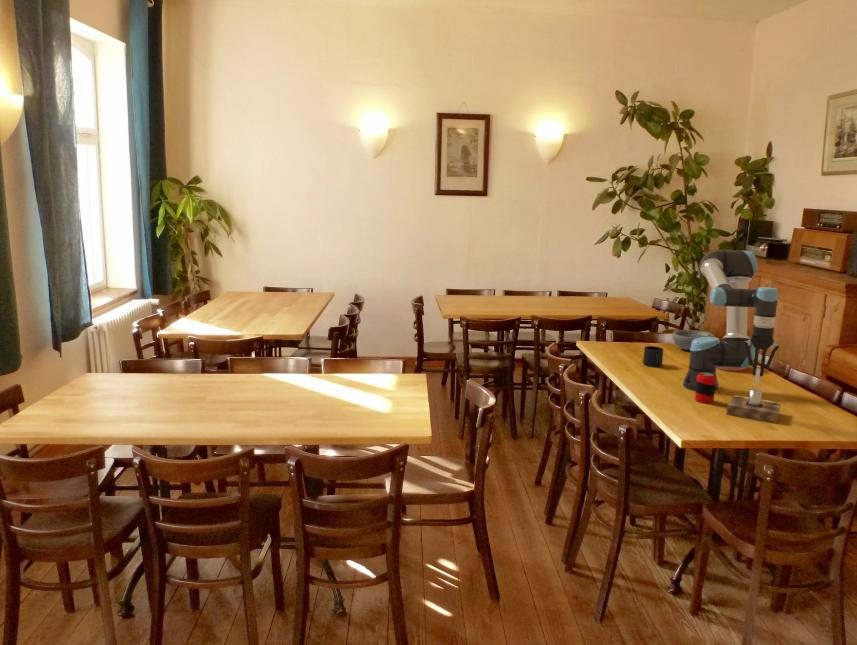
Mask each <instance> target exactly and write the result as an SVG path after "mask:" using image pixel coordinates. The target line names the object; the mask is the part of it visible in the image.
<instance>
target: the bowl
mask: <svg viewBox="0 0 857 645" xmlns="http://www.w3.org/2000/svg"><path fill="white" fill-rule="evenodd" d="M700 337H715V338H716V336H715V335H714V334H713V333H712V332H709V331H706V330H705V331H704V330H693V329H680V330H675V331H673V332H672V340H673V341H674V343H675V344H676V346H677V347H679V348H681V349H683V350H685V351H690V352H691V350H690V348H691V344H692V341H693V340H694V339H696V338H700Z"/></svg>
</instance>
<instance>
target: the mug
mask: <svg viewBox="0 0 857 645" xmlns="http://www.w3.org/2000/svg"><path fill="white" fill-rule="evenodd" d="M643 349H644V350H643V357H642V358H643V359H642V360H643V361H642V365H643V366H646V367H651V368H660V367H662V366H663V359H664V358H663V357H664V348H663V347H661V346H660V347H659V346H651V345H649V346H644V348H643Z"/></svg>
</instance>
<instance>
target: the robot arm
mask: <svg viewBox="0 0 857 645" xmlns="http://www.w3.org/2000/svg"><path fill="white" fill-rule="evenodd" d="M699 270H700V273H701V275H702V276H703V277H705V278H706V281H707V283H708V285H709V286H710V289H711V290H710V294H709V302H710V305H712V306H717V307H726V334H725V335H724V336H723V337H722V341H721V340H720V338H718V337H716V336H715V337H700V338H696V339H694V340H693V341H692V344H691V348H690V350H691V351H690V352H689V353H690V354H689V361H688V362H689V364H688V371H687V373H686V375H685V377H684V379H683V383H682V385H683V387H684V388H686V389H689V390H692V391H696V381H697V376H698V375H699V374H700V373H703V372H705V373H711V374H714V376H715V377H716V384H715V392H717V391H718V390H719V387H720V386H719V385H720V384H719V381H718V377H717V368H716V367H732V368H746V369H747V368H750V367H752V368H753V369H752V375H753V376H755V378H754V385H758V386H759V384H760V382H761V381H760V380H761V379H760V378H761V377H763V376H764V373H765V369H769V368H770V366H771V363H772V361H773V359H774V356H775V353H776V352H777V351H778V350H779V348H780V345H779V344H777V343H776V342H775V340H774V335H775V334H774V331H775V328H774V327H775V326H776V325H775V324H776V315H777V308H778V301H779V290H778V288H775V287H770V286H768V287H767V286H759V287H757V288H756V287H755V288H749V283H750V282H751V281H752V280H753V277H755V276H756V275H757V272H758V260H757V257H756V255H755V253H754V252H752V251H750V250H739V249H738V250H737V249H736V250H735V249H734V250H733V249H729V250H728V249H727V250H725V249H715V250H711V251H709V252H708V253H706V254H705V255H704V256H703V257H702V258H701V259H700V262H699ZM748 308H754V309H755V310H754V316H753V326H752V334H751V337H749V335H748V314H749V313H748V311H749V310H748ZM771 346H772V347H771ZM770 347H771V348H772V351H771V353H770V355H769V357H768V360H767V362H766V357H767V350H768V349H770ZM760 350H762V351H761V353H762V354H761V361H760V367H759V366H758V363H759V355H760V353H759V352H760Z"/></svg>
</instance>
